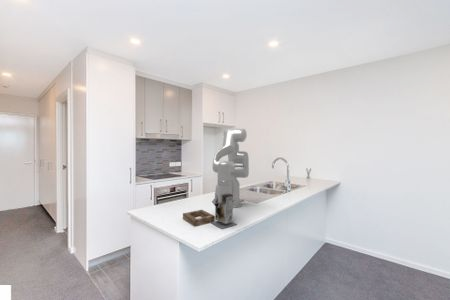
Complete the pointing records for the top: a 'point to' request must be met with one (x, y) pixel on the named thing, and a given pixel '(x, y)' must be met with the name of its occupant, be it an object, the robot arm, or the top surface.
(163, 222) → the top surface
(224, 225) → the rubber mat
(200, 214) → the pocket holder
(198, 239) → the top surface
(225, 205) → the coffee box
